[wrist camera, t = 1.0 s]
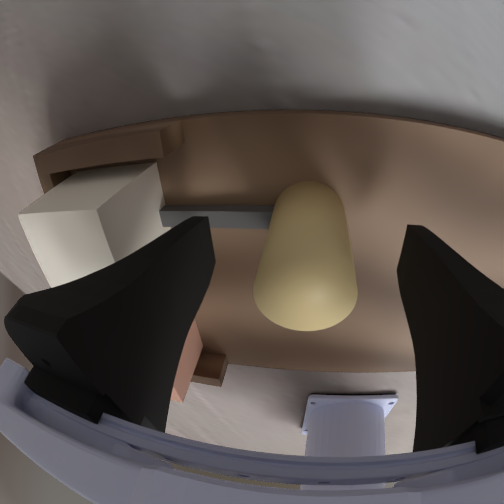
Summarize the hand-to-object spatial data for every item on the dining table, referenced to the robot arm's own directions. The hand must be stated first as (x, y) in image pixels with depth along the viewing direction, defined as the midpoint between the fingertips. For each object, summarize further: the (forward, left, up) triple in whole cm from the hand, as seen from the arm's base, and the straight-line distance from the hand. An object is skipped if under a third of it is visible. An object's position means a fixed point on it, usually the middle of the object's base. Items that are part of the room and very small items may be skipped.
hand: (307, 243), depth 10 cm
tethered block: (0, +5, -2) cm, 6 cm away
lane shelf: (-4, -1, -3) cm, 5 cm away
